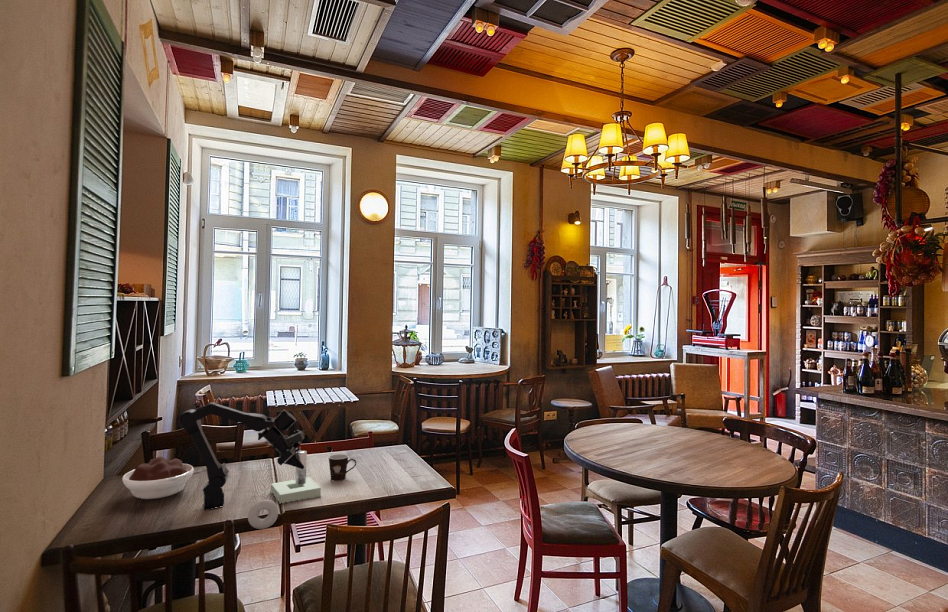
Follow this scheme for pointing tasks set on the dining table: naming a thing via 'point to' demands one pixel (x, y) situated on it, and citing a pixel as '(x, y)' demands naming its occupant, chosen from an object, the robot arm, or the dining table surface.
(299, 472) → the steel pin
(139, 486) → the bowl of chocolate pudding
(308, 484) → the socket block
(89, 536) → the dining table surface
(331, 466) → the coffee mug
